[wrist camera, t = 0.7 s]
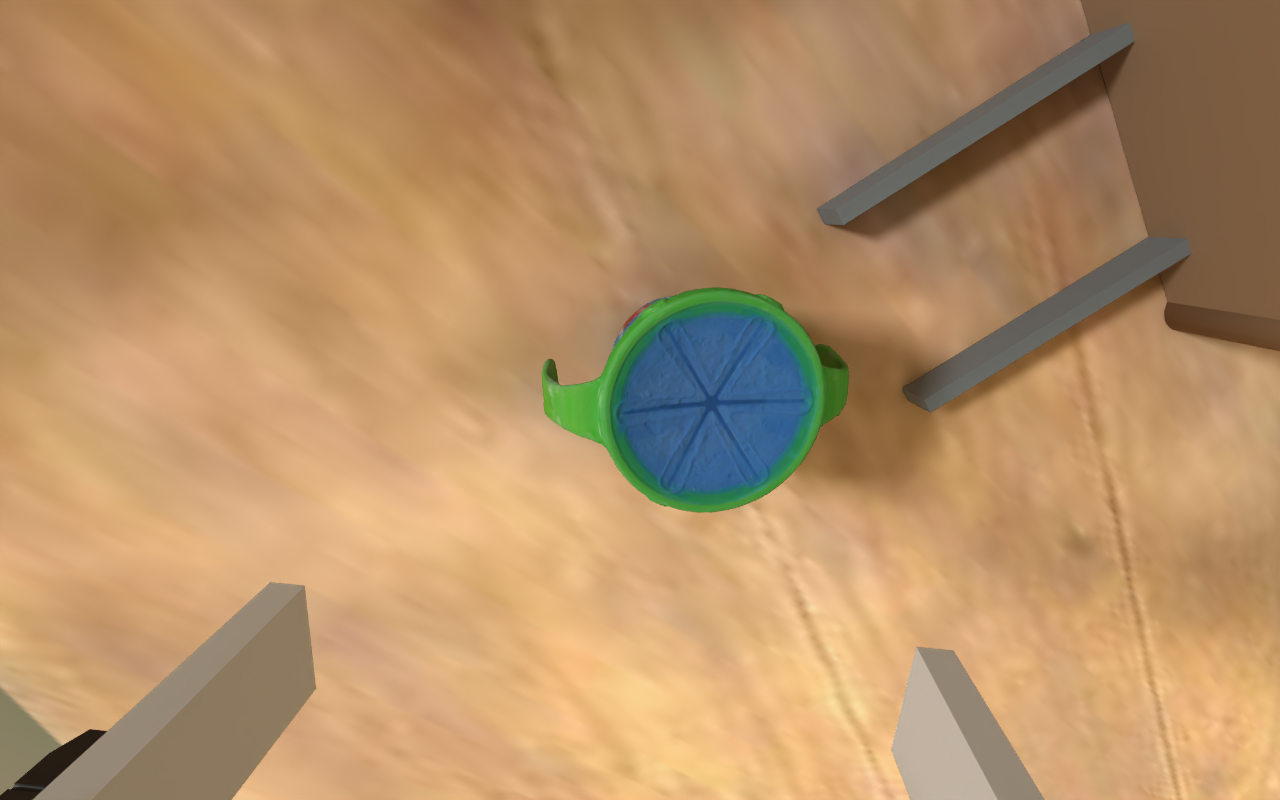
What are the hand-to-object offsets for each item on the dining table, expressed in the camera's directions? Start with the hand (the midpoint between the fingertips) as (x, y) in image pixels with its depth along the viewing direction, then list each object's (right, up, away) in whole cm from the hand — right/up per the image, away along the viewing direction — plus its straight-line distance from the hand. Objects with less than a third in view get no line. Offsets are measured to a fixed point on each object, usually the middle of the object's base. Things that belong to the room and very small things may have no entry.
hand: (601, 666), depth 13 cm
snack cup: (+3, +8, +24) cm, 26 cm away
